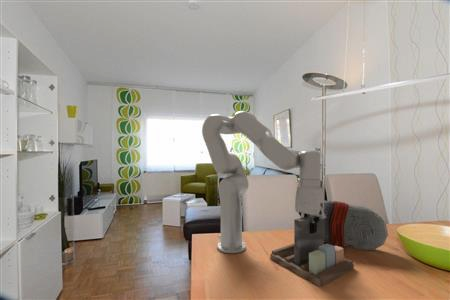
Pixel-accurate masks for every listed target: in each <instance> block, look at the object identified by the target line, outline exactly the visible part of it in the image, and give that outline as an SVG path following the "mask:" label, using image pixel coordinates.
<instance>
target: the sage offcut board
mask: <svg viewBox="0 0 450 300" xmlns="http://www.w3.org/2000/svg"><path fill="white" fill-rule="evenodd" d="M325 270H326V261H325V253H324V252H322V251H319V250H316V251H313V252H311V253H309V272H310V273H312V274H314V275H316V276H317V274H318V273H320V272H323V271H325Z"/></svg>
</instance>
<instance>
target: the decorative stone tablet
mask: <svg viewBox="0 0 450 300" xmlns="http://www.w3.org/2000/svg"><path fill="white" fill-rule="evenodd" d="M324 214H325V216H326V218H325V219H324V243H328V244H330V245H333V246H339V247H341V248H344V247H351V248H353V249H355V250H358V251H359V250H360V251H374V250H376V249H378V248H380V247H383V246H384V245H385V244H386V240H387V238H388V236H389V232H388V227H387V223H386V222H385V220H384V218H383V217H382V216H381V215H380V214H379V213H377V212H376V211H375V210H374V209H372V208H369V207H365V206H362V205H355V204H349V203H346V202H341V201H336V200H334V201H329V200H325V199H324Z"/></svg>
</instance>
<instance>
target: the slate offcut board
mask: <svg viewBox="0 0 450 300" xmlns="http://www.w3.org/2000/svg"><path fill="white" fill-rule="evenodd" d="M319 251H322V252H324V253H325V261H326V270H327V269H329V268H331V267H333V266H335V246H333V245H331V243H324V245H321V246H319Z"/></svg>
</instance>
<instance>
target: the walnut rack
mask: <svg viewBox="0 0 450 300" xmlns="http://www.w3.org/2000/svg"><path fill="white" fill-rule="evenodd" d="M291 254H292V255H291ZM269 256H270V257H269V258H270V260H272V261H274V262H275V263H277V264H278V265H281V266H282V267H284V268H286V269H288V270H289V271H291V272H293V273H294V274H296V275H299V276H300V277H302V278H304V279H305V280H307V281H308V282H311V283H313V284H314V285H316V286H317V287H322V286H323V285H326V284H328V283H329V282H331V281H333V280H335V279H337V278H339V277H341V276H342V275H345V274H347V273H349V272H351V271H352V270H354V269H355V263H354V262H353V261H354V260H351V259H345V258H344V262H342V263H340V264H337V265H335V266H333V267H331V268H329V269H327V270H325V271H323V272H320V273H318V274H317V276H316V275H314V274H312V273H310V272H309V262H308V263H306V264H303V265H301V266H299V265H297V264H295V263H294V243H292V244H289V245H285V246H282V247H279V248H276V249H273V250H271V253H270V255H269Z"/></svg>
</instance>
